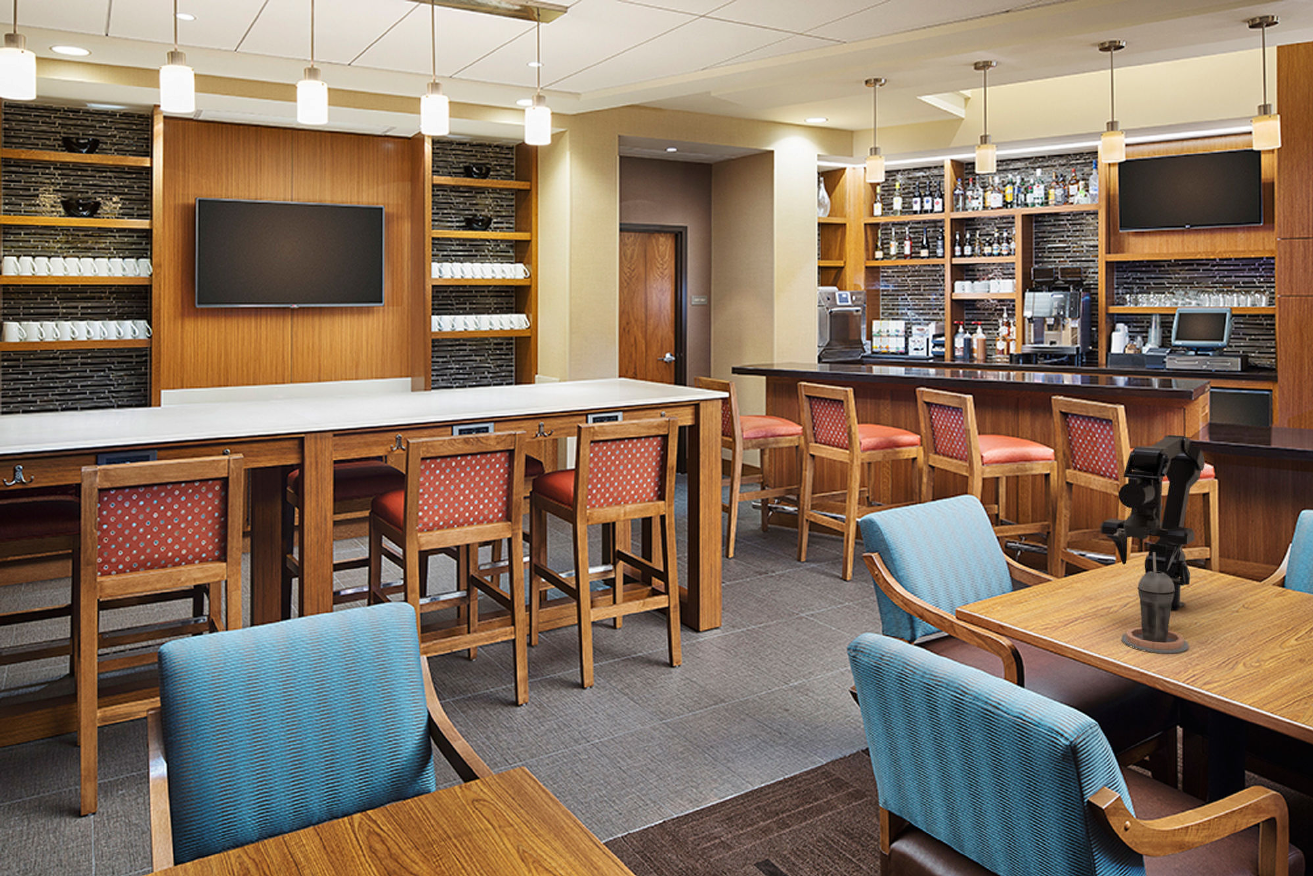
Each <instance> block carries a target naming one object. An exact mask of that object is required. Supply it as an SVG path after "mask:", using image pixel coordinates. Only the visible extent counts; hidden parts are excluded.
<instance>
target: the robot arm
mask: <svg viewBox="0 0 1313 876" xmlns="http://www.w3.org/2000/svg"><path fill="white" fill-rule="evenodd" d="M1205 460H1206V459H1205V456H1204V453H1203V452H1202V449H1201V448H1200V447H1198V446H1197V445H1195V444H1194V443H1192V442H1191V440H1190V438H1189V437H1188V436H1185V435H1174V434H1173V435H1172V434H1168V435H1165V436H1163V439H1160V440H1159V441H1157V442H1155V443H1154V444H1153V445H1151V446H1150V445H1149V446H1147V445H1145V446H1143V445H1142V446H1135V447H1134V448H1133V449H1132V451H1130V453H1129V455H1128V459H1127V462H1126V466H1125V469H1124V474H1123V478H1127V483H1126V484H1125V483H1124V484H1123V485H1122V486H1121V487H1120V489H1119V490H1118V495H1117V496H1118V500H1119V501H1120V503H1121V505H1123V506H1124V507H1126V508H1129V509H1130V514H1129V516H1127V518H1126V519H1119V518H1118V519H1117V518H1109V519H1105V520H1104V521H1103V522H1102V523H1101V524H1100V531H1099V533H1100V534H1103V535H1105V536H1106V538H1107V539H1108V538H1109V539H1110V540H1111V541H1112V542H1113V543H1114V545H1115V547H1116V549H1117V552H1118V554H1119V558H1120V560H1121V563H1122V565H1126V564H1127V560H1128V559H1127V558H1128V538H1135V539H1136V538H1137V539H1138V540H1146V539H1148V538H1149V536H1151V537H1158V540H1157V541H1155V543H1150V545H1149V548H1148V549H1149V550H1148V553H1147V556H1146V557H1145V559H1144V570H1145V571H1144V573H1145V574H1146V573H1148V572H1150V571H1154V569H1153V552H1155V554H1156V571H1161V572H1163V573H1165V574H1167V575H1168V576H1169V577H1170V578H1171V580H1172V581H1173V584H1174V589H1175V593H1174V597H1173V601H1172V605H1171V611H1178V610H1180V609H1181V608H1182V607H1184V606H1185V605H1186V604H1185V603H1186V602H1183V601H1181V586H1182V587H1183V586H1189V585H1190V583H1191V582H1190V581H1191V572H1190V570H1189V567H1188V565H1187V562H1186V555H1185V552H1184V550H1183V548H1182V547H1183V546H1185V545H1189V544H1190V543H1193V541H1195V531H1194V530H1193V528H1191V527H1184V526H1185V525H1184V523H1185V519H1186V514H1187V507H1188V502H1189V497H1190V496H1189V495H1190V490H1191V488H1192V487H1193V486H1194V485H1195V484H1196V483H1197V482H1198V481H1199V480H1200V477H1201V473H1202V472H1203V470H1204V469H1205V463H1206V462H1205ZM1164 478H1167V480H1168V489H1167V495H1166V500H1165V504H1164V505H1165V507H1163V506H1164V505H1163V504H1162V500H1163V499H1162V497H1163V480H1164ZM1162 510H1163V511H1164V512H1163V517H1162Z"/></svg>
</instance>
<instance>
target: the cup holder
mask: <svg viewBox="0 0 1313 876" xmlns="http://www.w3.org/2000/svg"><path fill="white" fill-rule="evenodd" d="M1120 639H1121V642H1122V643H1123V644H1124V643H1125V644H1126V645H1125V644H1124V645H1125V646H1127V645H1128V646H1127V647H1129V646H1132V647H1134V648H1137V649H1140V650H1139V651H1141V650H1145V651H1148V652H1147V653H1151V652H1155V653H1154V654H1160V653H1161V654H1162V653H1163V654H1164V655H1170V654H1171V655H1174V653H1175V654H1181V653H1184V652H1186V650H1187V651H1188V650H1189V643H1188V642H1187V640H1185V638H1184V637H1183V635H1182V634H1180V633H1178V632H1174V631H1173V630H1169V629H1168V635H1167V639H1166V643H1163V642H1151V641H1146V640H1143V634H1142V626H1140V627H1133V628H1130V629H1128V630H1126V631H1125V633H1123V634H1122V635H1121V638H1120ZM1134 648H1133V649H1134ZM1137 649H1136V650H1137ZM1145 651H1144V652H1145ZM1167 653H1168V654H1167ZM1163 654H1162V655H1163Z"/></svg>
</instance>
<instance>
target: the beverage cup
mask: <svg viewBox="0 0 1313 876" xmlns="http://www.w3.org/2000/svg"><path fill="white" fill-rule="evenodd" d="M1153 569H1154V571H1150V572H1148V573H1146V574H1143V575H1142V576H1141V578H1140V579H1139V582H1138V586H1137V588H1136V589H1137V591H1138V593H1137V594H1138V597H1139V604H1140V605H1139V606H1140V620H1141V621H1140V622H1141V627H1142V634H1143V640H1146V641H1151V642H1163V643H1166V639H1167V635H1168V630H1169V626H1170V619H1171V612H1172V610H1171V605H1172V601H1173V597H1174V593H1175V589H1174V584H1173V581H1172V580H1171V578H1170V577H1169V576H1168V575H1167V574H1165V573H1163V572H1161V571H1156V554H1155V552H1153Z"/></svg>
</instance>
